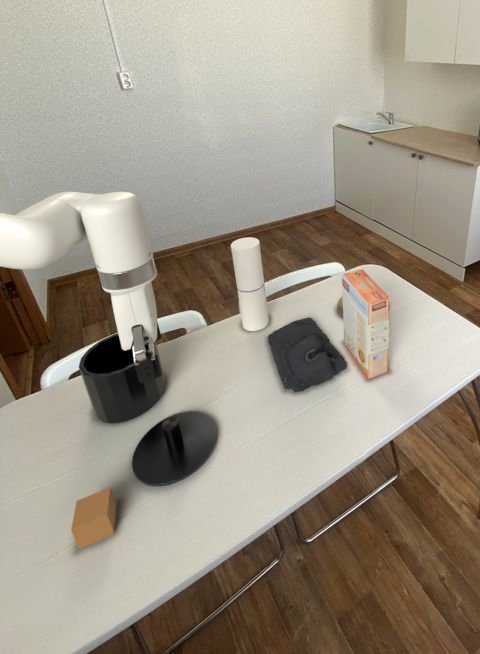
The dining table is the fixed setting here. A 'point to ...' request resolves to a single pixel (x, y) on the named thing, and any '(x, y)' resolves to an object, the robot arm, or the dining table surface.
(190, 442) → the bin lid
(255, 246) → the cylindrical container
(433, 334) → the dining table surface
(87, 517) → the cube
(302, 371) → the black fabric pouch
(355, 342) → the cracker box
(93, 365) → the trash can
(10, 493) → the dining table surface
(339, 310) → the cake
